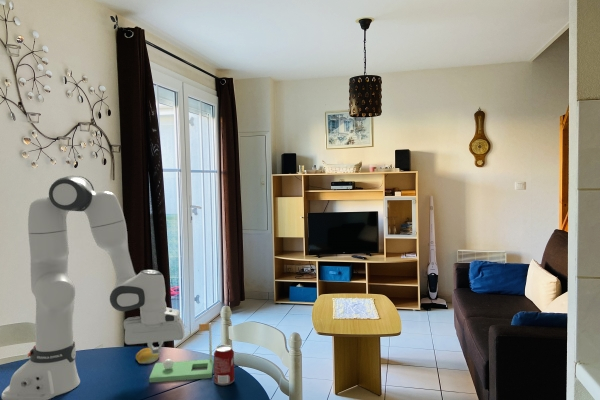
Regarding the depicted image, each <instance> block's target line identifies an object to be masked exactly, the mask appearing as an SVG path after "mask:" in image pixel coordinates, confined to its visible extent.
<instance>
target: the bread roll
mask: <svg viewBox="0 0 600 400" xmlns="http://www.w3.org/2000/svg"><path fill="white" fill-rule="evenodd" d="M159 358H160V353H159V354H151V349H150V348H149V347H145V348H142V349H140V350H139V351H138V352H137V353H136V354H135V359H136V361H137V363H139V364H142V365H143V364H144V365H145V364H146V365H147V364H152V363H156V361H158V359H159Z"/></svg>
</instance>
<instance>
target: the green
mask: <svg viewBox="0 0 600 400" xmlns="http://www.w3.org/2000/svg"><path fill="white" fill-rule="evenodd" d="M198 329H199V332H208V333H209V335H208V339H209V340H208V341H209V342H208V343H209V344H208V345H209V347H208V348H209V359H196V360H182V361H181V360H180V361H173V363H174V365H173V367H172V368H171V369H169V370H167V369H165V368H164V367H163V363H164V362H154V363H155V364H154V366H153V367H152V371H151V373H150V375H149V378H148V380H149V383H159V382H172V381H173V382H174V381H175V382H176V381H186V379H187V380H199V379H211V378H212V377H213V372H214V358H213V355H212V354H213V353H212V352H213V350H212V349H213V347H212V323H211V322H209V323H200V324H198Z"/></svg>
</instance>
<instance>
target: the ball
mask: <svg viewBox="0 0 600 400" xmlns="http://www.w3.org/2000/svg"><path fill="white" fill-rule="evenodd" d="M173 362H174V360H173V359H171V358H167V359H165V360H164V361H163V362H162V363H163V367H164V368H165V369H167V370H169V369H171V368H172V367H173V365H174V363H173Z"/></svg>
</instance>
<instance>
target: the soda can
mask: <svg viewBox="0 0 600 400" xmlns="http://www.w3.org/2000/svg"><path fill="white" fill-rule="evenodd" d="M213 374H214V376H213V378H214V383H215V384H217V385H218V386H223V387H224V386H228V385H231V384H232V383H233V382H234V381H235V351H234V350H233V346H232V345H229V344H222V345H221V344H220V345H218V346H216V347H215V351H214V352H213Z"/></svg>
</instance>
